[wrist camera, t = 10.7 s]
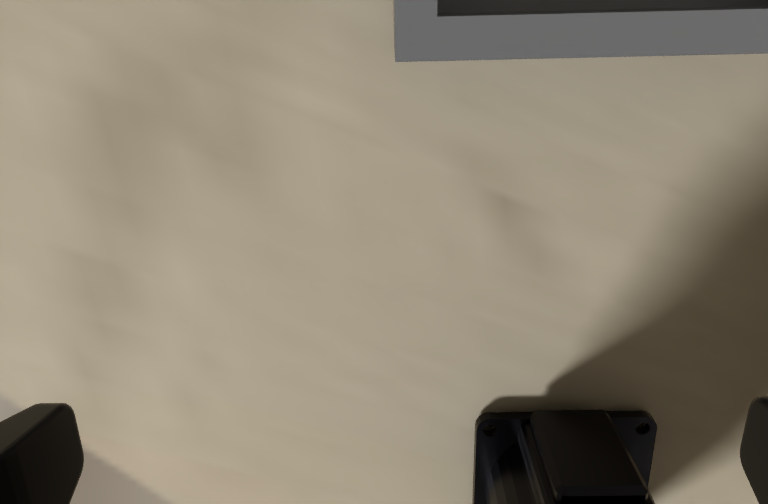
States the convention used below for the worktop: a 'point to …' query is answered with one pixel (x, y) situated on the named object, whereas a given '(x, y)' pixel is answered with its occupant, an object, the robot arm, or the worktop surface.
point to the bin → (576, 28)
